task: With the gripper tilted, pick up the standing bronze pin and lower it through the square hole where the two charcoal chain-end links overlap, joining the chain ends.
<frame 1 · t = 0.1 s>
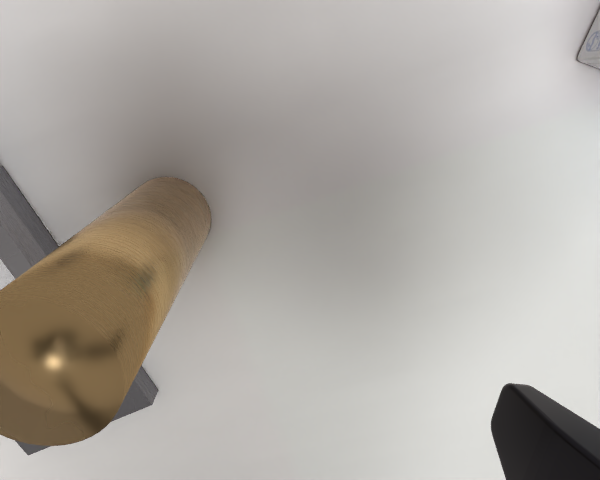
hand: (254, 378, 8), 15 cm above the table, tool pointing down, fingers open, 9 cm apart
bronze pin: (169, 217, 22), on the table
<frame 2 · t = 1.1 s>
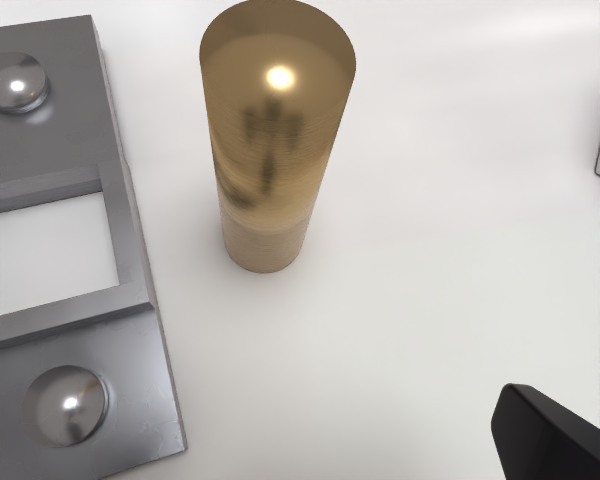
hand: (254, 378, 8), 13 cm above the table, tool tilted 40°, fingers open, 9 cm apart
bronze pin: (263, 235, 23), on the table
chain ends: (58, 256, 22), on the table
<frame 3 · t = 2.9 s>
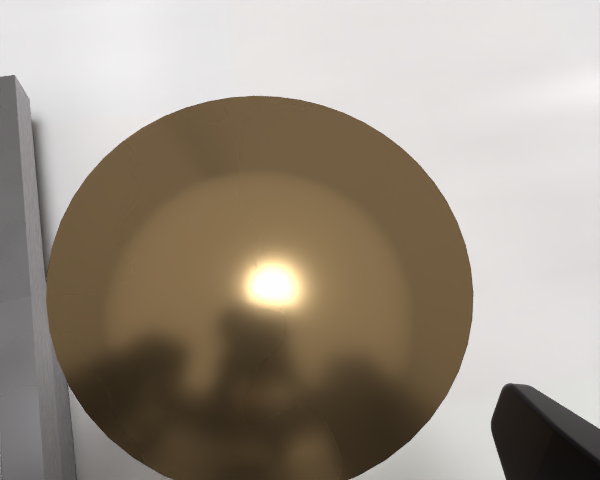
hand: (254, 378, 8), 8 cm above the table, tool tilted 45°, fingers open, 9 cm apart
bronze pin: (251, 398, 16), on the table
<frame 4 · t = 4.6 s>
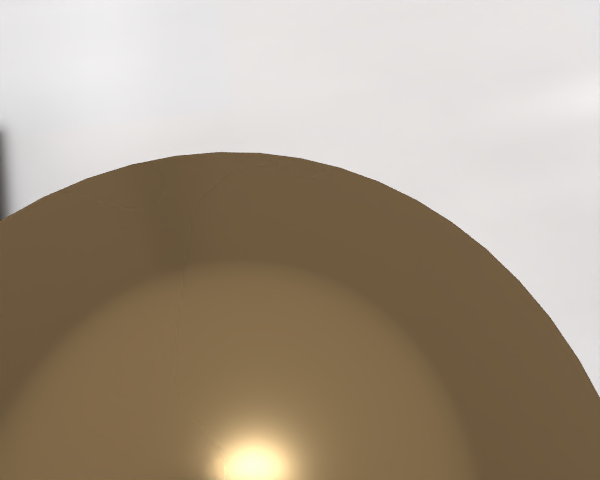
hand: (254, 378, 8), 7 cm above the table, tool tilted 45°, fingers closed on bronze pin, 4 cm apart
bronze pin: (244, 459, 13), on the table, touching gripper
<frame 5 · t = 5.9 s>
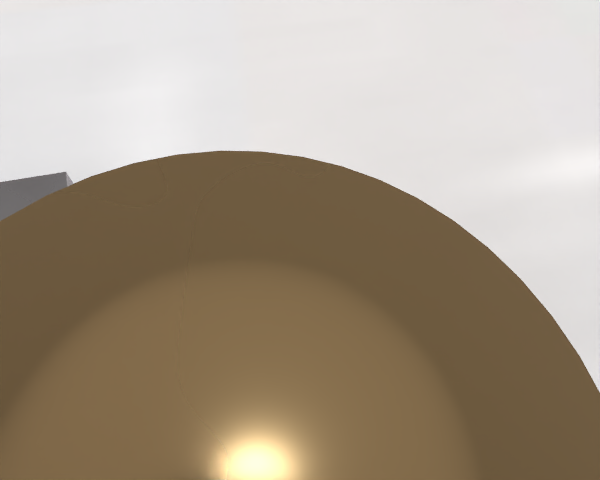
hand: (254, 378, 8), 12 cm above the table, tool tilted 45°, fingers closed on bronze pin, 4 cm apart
bronze pin: (244, 458, 13), point 6 cm above the table, touching gripper
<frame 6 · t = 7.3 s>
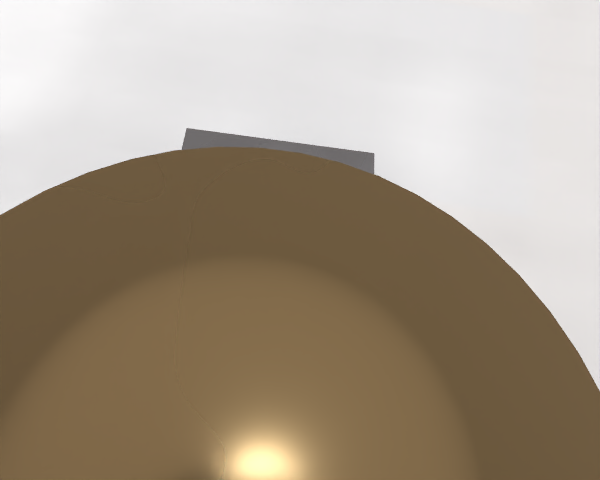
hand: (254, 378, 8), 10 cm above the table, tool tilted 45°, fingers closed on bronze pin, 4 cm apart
bronze pin: (244, 457, 13), point 3 cm above the table, touching gripper
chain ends: (244, 451, 17), on the table
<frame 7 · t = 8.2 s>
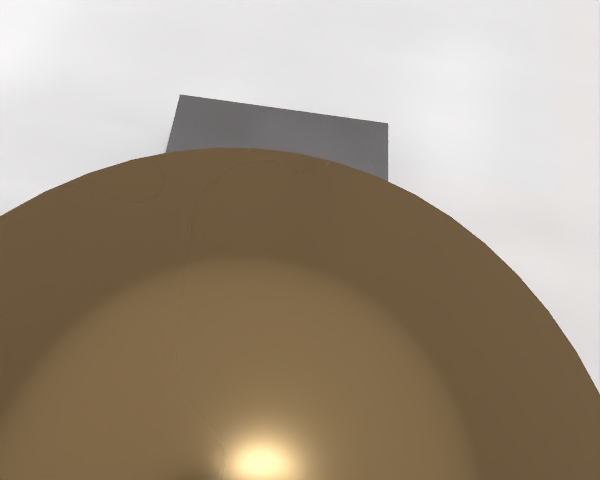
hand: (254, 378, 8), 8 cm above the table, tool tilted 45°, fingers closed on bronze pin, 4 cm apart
bronze pin: (244, 457, 13), point 1 cm above the table, touching gripper
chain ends: (244, 453, 15), on the table
when the fingers open (8 cm above the table, at t = 8.7 s): bronze pin drops 1 cm, resting in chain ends.
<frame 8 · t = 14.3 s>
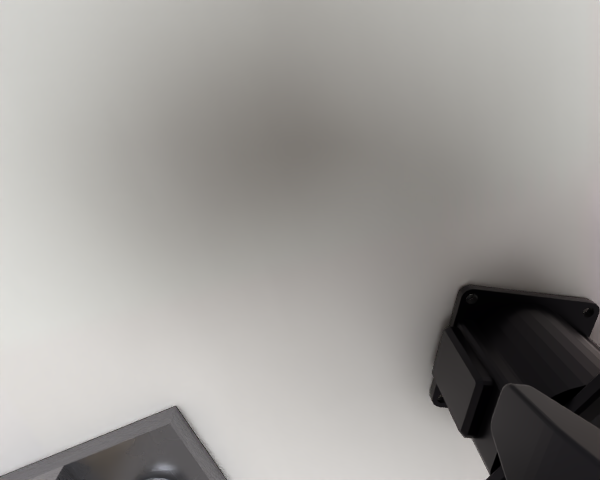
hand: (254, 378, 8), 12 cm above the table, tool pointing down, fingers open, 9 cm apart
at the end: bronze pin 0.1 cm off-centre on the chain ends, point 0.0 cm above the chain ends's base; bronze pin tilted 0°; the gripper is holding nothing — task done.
